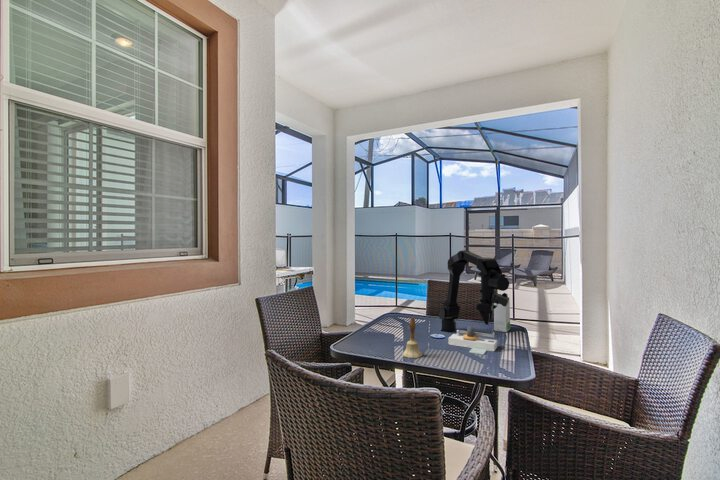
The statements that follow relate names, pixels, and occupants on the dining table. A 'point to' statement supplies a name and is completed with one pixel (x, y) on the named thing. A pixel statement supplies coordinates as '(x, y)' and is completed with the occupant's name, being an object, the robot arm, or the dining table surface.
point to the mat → (477, 351)
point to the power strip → (473, 342)
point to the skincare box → (502, 317)
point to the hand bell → (412, 343)
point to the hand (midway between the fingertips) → (488, 323)
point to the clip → (478, 333)
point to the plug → (470, 334)
